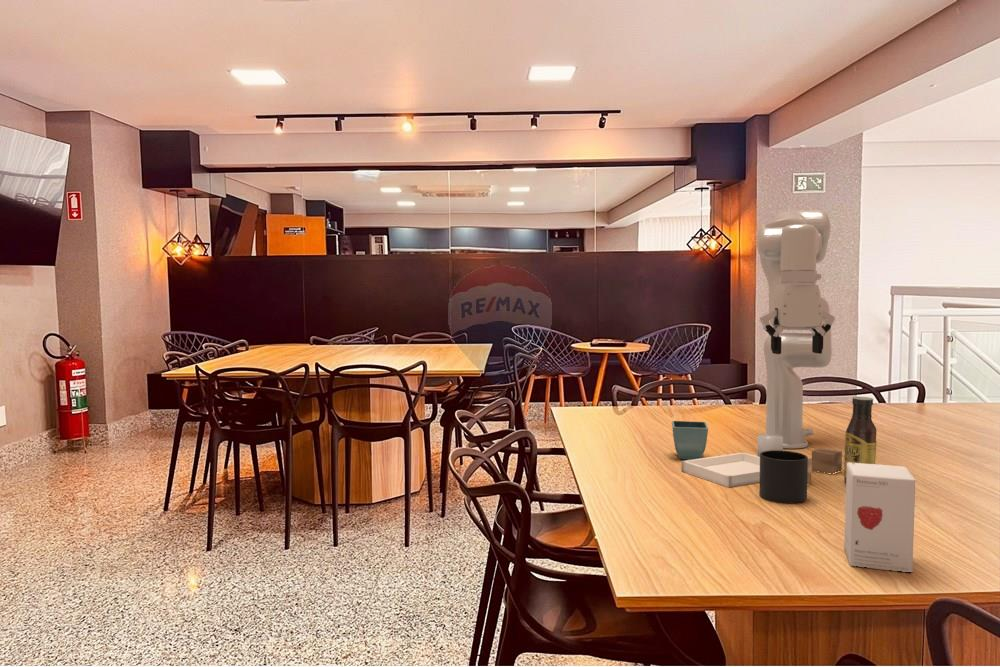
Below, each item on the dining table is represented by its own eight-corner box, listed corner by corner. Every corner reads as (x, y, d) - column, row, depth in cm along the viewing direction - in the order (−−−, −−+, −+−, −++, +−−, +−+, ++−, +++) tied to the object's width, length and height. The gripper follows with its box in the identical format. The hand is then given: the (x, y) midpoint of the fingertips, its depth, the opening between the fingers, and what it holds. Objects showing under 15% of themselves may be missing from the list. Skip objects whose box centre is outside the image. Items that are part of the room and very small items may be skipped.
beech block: (802, 479, 163) (802, 454, 162) (811, 484, 159) (811, 458, 158) (785, 480, 162) (785, 454, 162) (794, 485, 158) (794, 458, 158)
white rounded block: (769, 459, 182) (769, 432, 182) (787, 464, 177) (788, 437, 177) (752, 462, 180) (752, 435, 179) (770, 467, 174) (770, 439, 174)
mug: (810, 491, 153) (811, 450, 153) (804, 506, 143) (805, 462, 142) (764, 485, 158) (765, 446, 157) (755, 500, 147) (756, 457, 147)
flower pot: (708, 462, 180) (708, 427, 179) (672, 461, 182) (673, 426, 181) (705, 454, 188) (705, 421, 188) (671, 453, 190) (671, 420, 190)
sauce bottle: (837, 481, 161) (839, 395, 159) (863, 480, 161) (865, 394, 160) (854, 489, 154) (856, 400, 153) (881, 488, 155) (883, 399, 153)
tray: (743, 461, 180) (743, 452, 180) (793, 476, 165) (793, 466, 165) (681, 471, 171) (681, 461, 171) (728, 487, 157) (728, 476, 157)
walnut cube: (821, 467, 174) (821, 447, 173) (841, 471, 170) (842, 451, 170) (811, 471, 170) (811, 451, 170) (832, 475, 167) (832, 454, 166)
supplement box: (849, 567, 112) (850, 474, 111) (843, 547, 120) (845, 461, 119) (914, 574, 108) (916, 479, 108) (903, 554, 117) (906, 465, 116)
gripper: (825, 279, 166) (824, 351, 167) (754, 279, 164) (753, 352, 165) (843, 278, 158) (841, 354, 159) (768, 279, 157) (767, 355, 158)
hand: (796, 353), depth 162 cm, fingers open, 9 cm apart
